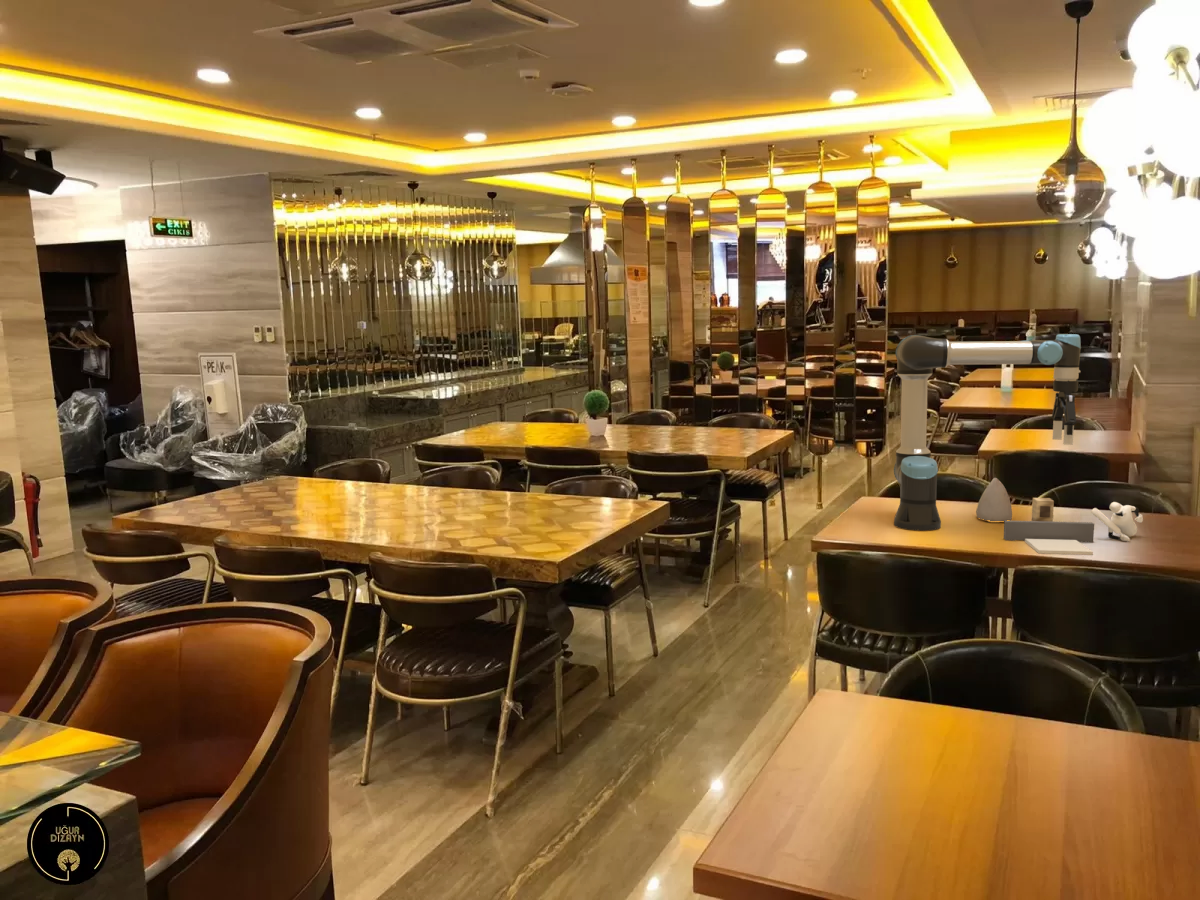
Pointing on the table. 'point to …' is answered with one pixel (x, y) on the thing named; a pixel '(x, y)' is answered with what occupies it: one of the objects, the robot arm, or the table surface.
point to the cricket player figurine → (1120, 520)
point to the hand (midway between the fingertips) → (1062, 442)
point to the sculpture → (994, 503)
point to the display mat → (1058, 546)
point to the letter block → (1042, 509)
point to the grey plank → (1049, 530)
